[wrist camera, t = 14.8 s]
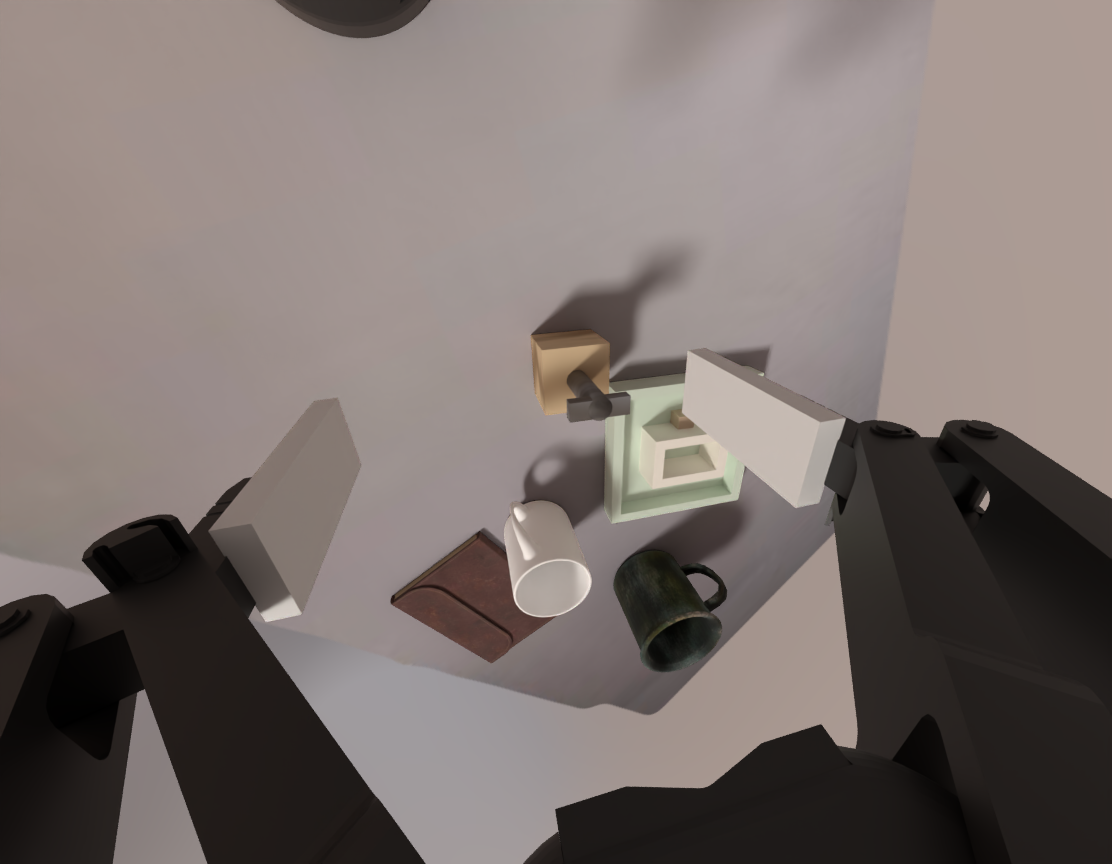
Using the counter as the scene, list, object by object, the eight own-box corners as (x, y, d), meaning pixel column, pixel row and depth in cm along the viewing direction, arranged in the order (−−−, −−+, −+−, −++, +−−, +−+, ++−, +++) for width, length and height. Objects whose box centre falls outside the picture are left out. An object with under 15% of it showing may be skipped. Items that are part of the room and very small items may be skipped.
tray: (606, 382, 45) (615, 392, 42) (747, 365, 48) (764, 373, 45) (604, 509, 53) (611, 523, 50) (724, 487, 56) (737, 499, 54)
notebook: (479, 528, 51) (480, 539, 49) (565, 599, 60) (568, 610, 58) (391, 594, 52) (389, 606, 50) (488, 653, 62) (489, 665, 60)
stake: (530, 335, 40) (559, 375, 29) (590, 329, 42) (640, 365, 30) (534, 393, 43) (562, 450, 32) (590, 386, 45) (636, 439, 33)
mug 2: (596, 574, 58) (626, 649, 48) (679, 520, 57) (729, 585, 47) (628, 609, 64) (662, 684, 53) (705, 561, 63) (755, 627, 52)
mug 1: (537, 467, 48) (557, 524, 38) (578, 529, 54) (603, 592, 44) (476, 501, 48) (480, 566, 39) (523, 560, 54) (536, 628, 45)
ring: (638, 471, 50) (652, 489, 47) (642, 414, 47) (657, 429, 43) (705, 460, 52) (723, 476, 49) (714, 404, 48) (734, 417, 45)
